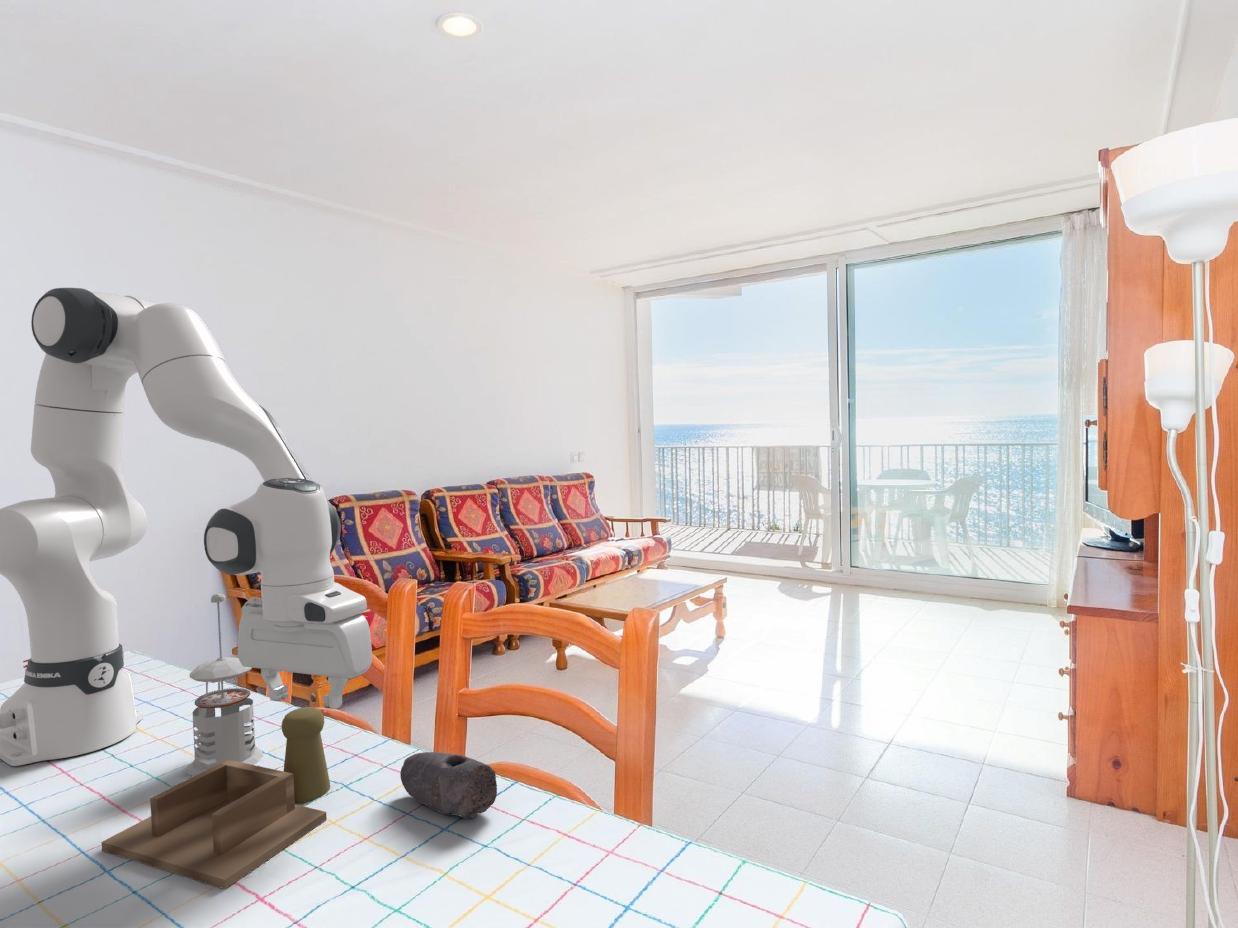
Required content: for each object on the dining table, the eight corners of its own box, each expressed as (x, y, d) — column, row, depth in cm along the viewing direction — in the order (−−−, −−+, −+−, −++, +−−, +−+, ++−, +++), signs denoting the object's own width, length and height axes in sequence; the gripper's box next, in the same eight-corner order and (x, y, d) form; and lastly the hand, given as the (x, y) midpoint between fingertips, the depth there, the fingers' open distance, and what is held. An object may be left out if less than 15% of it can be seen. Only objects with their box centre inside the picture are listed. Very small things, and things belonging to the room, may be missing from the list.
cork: (312, 804, 90) (308, 721, 90) (270, 800, 91) (267, 718, 91) (339, 781, 96) (336, 703, 96) (300, 778, 97) (297, 700, 97)
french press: (194, 785, 96) (185, 605, 95) (178, 756, 105) (169, 591, 104) (271, 761, 103) (263, 592, 101) (250, 736, 111) (243, 581, 110)
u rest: (101, 850, 81) (99, 803, 81) (211, 791, 94) (209, 751, 94) (225, 888, 74) (223, 838, 73) (326, 819, 87) (324, 776, 86)
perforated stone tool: (388, 800, 91) (386, 748, 91) (419, 783, 95) (417, 733, 95) (471, 834, 83) (470, 777, 83) (502, 813, 87) (500, 759, 87)
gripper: (221, 602, 94) (228, 703, 94) (341, 611, 86) (347, 721, 87) (261, 591, 99) (267, 687, 100) (376, 598, 92) (382, 702, 92)
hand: (305, 703), depth 93 cm, fingers open, 8 cm apart
